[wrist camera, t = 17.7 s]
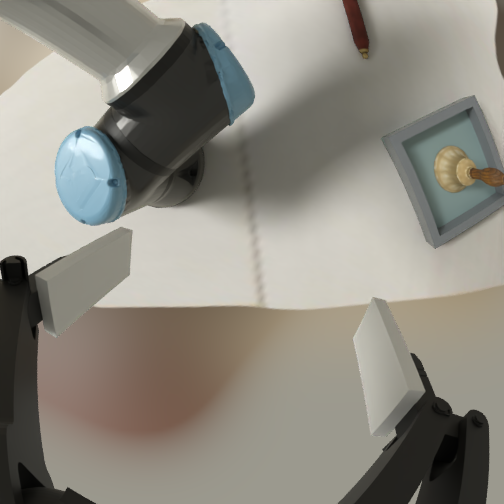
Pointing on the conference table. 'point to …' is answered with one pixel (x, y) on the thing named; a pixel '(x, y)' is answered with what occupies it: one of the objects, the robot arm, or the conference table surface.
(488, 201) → the box
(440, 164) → the hand bell
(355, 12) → the gavel
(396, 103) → the conference table surface
